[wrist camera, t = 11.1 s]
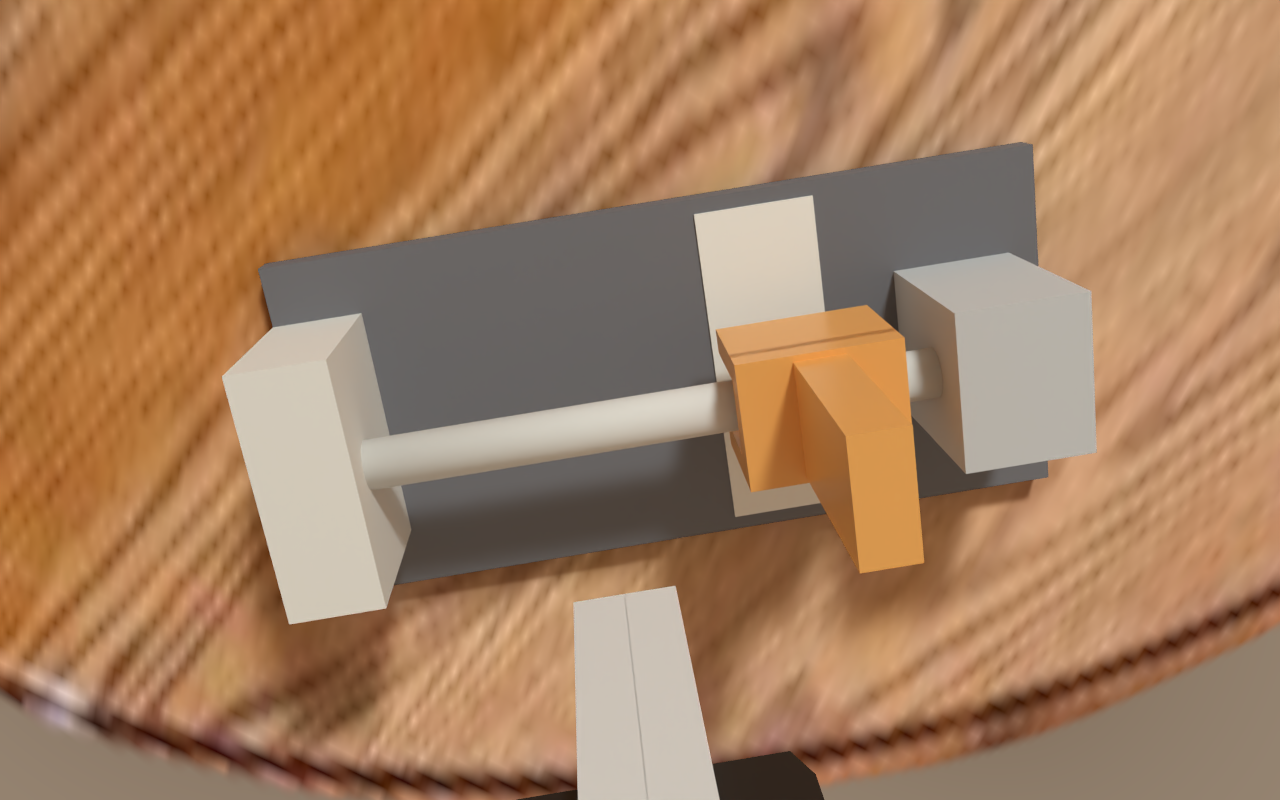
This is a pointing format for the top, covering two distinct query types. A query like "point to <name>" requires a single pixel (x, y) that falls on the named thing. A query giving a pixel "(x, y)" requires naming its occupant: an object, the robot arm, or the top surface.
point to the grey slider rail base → (635, 370)
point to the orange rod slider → (831, 424)
